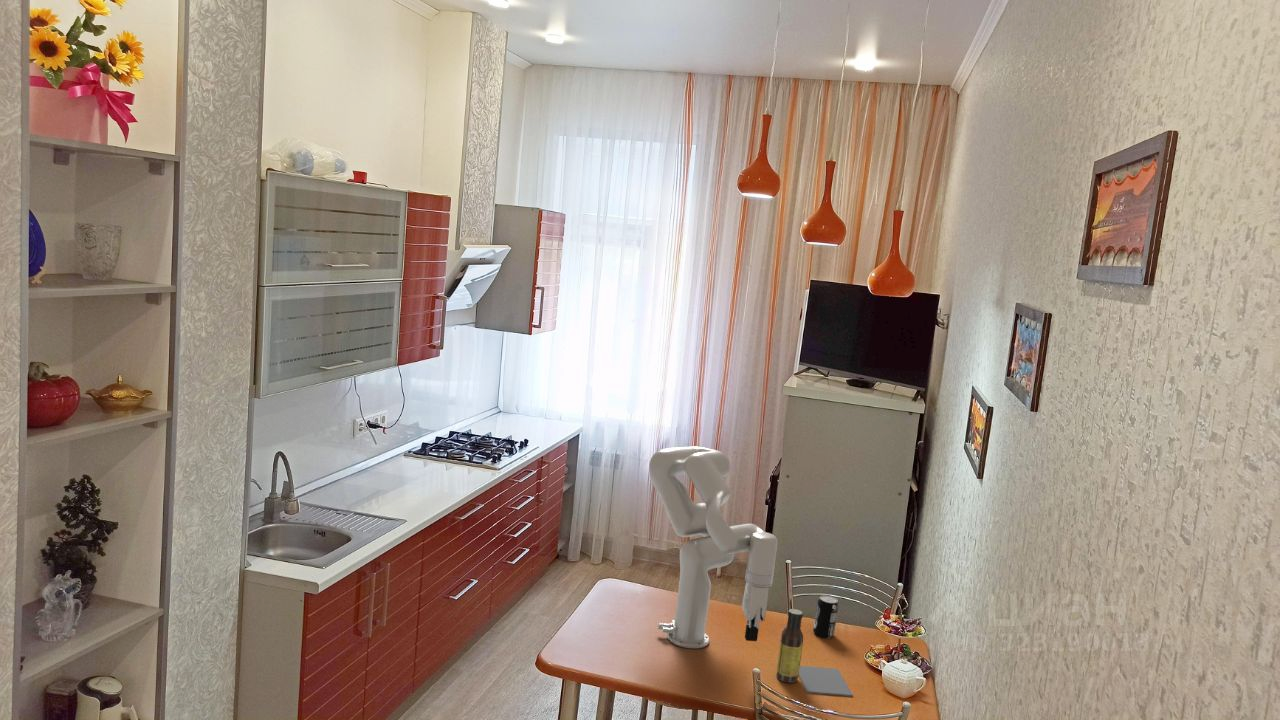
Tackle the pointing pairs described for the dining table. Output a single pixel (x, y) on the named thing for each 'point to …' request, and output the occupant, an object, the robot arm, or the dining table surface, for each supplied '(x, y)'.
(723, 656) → the dining table surface
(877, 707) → the dining table surface
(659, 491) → the robot arm
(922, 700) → the dining table surface
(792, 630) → the sauce bottle
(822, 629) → the beverage can
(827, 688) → the mat
